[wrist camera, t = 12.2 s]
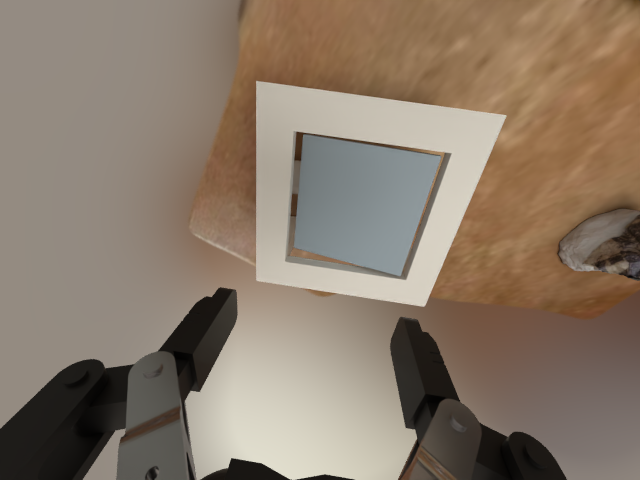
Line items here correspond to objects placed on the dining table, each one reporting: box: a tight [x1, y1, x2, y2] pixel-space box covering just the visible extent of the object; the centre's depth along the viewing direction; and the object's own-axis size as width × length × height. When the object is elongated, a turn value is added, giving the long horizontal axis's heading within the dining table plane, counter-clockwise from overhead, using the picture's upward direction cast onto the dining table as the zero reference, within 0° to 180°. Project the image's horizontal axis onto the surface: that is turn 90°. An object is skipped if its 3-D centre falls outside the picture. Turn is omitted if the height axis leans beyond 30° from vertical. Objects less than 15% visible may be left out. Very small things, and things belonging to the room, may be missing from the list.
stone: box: [558, 209, 640, 281], centre depth 37 cm, size 14×10×15 cm
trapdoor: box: [294, 134, 441, 276], centre depth 28 cm, size 14×14×1 cm
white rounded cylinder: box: [292, 160, 301, 195], centre depth 38 cm, size 5×5×6 cm
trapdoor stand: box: [256, 81, 507, 306], centre depth 33 cm, size 22×22×16 cm
